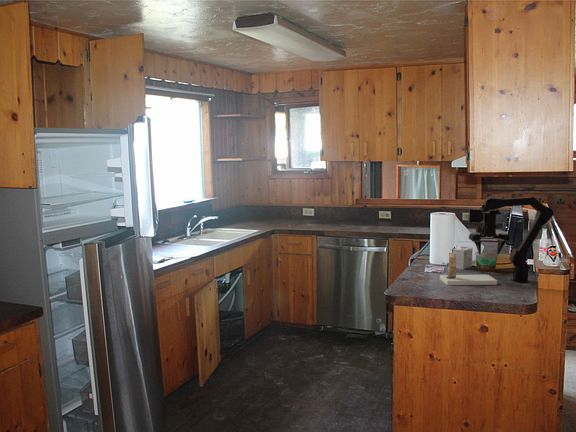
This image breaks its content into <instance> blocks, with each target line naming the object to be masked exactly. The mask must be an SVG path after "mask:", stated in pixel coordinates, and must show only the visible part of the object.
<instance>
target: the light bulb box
mask: <svg viewBox="0 0 576 432" xmlns="http://www.w3.org/2000/svg"><path fill="white" fill-rule="evenodd" d="M473 248H474V247H470V246H463V245H462V246H459V247H456V248H455V249H453V253H455V254H456V270H457V269H458V270H466V269H468V268H471V267H473V252H474V251H473V250H474V249H473Z"/></svg>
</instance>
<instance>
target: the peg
mask: <svg viewBox="0 0 576 432" xmlns="http://www.w3.org/2000/svg"><path fill="white" fill-rule="evenodd" d="M447 266H448V270H447V271H448V273H447V275H448V277H449V279H455V278H456V275H457V268H456V254H455V253H449V263H448V265H447Z"/></svg>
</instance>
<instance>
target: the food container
mask: <svg viewBox="0 0 576 432" xmlns="http://www.w3.org/2000/svg"><path fill="white" fill-rule="evenodd" d="M473 255H475V259H476V260H475V262H476V263H475V264H476V270H477V271H480V272H485V273H486V272H487V273H488V272H490V273H491V272H495V271H496V267H497V261H498V257H499V256H500V253H499V254H497V252H494V253H493V252H487V251H486V252H481V254H479V253H478V251H474V254H473Z"/></svg>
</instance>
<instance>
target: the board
mask: <svg viewBox="0 0 576 432" xmlns="http://www.w3.org/2000/svg"><path fill="white" fill-rule="evenodd" d="M439 280H440V281H442V283H444V284H445V285H447V286H480V285H481V286H483V285H487V286H489V285H492V286H493V285H498V280H497V279H495V278H494V277H492V276H491V275H489V274H456V278H455V279H449V277H448V274H440V275H439Z"/></svg>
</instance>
